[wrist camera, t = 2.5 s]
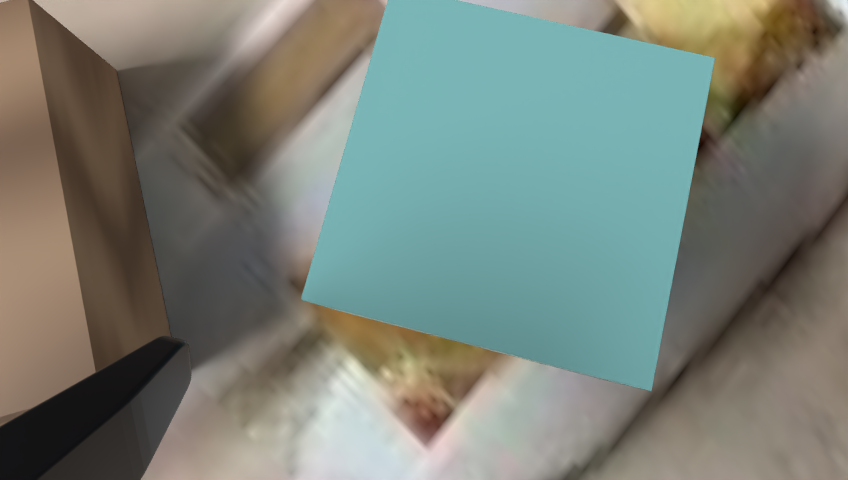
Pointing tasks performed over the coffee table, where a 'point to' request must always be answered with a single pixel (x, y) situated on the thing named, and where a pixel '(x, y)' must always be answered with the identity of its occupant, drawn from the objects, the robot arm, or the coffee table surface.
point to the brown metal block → (66, 216)
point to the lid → (515, 187)
